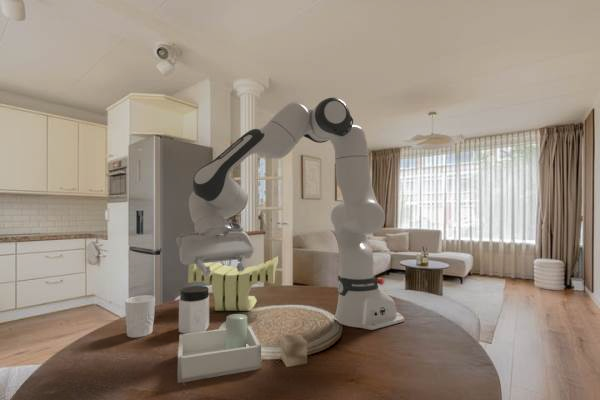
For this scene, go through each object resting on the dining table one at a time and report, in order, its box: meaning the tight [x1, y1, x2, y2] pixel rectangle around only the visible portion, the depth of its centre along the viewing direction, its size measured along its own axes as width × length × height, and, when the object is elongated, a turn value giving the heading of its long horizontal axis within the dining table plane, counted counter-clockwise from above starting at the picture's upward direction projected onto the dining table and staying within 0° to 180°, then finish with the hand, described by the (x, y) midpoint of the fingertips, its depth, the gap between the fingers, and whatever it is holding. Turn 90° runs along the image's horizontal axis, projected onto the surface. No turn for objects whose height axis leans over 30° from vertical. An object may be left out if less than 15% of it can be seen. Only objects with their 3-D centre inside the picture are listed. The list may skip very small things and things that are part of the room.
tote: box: [177, 325, 262, 384], centre depth 74 cm, size 18×14×5 cm
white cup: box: [124, 294, 156, 339], centre depth 91 cm, size 8×8×10 cm
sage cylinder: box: [225, 313, 248, 350], centre depth 76 cm, size 5×5×9 cm
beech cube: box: [280, 333, 308, 368], centre depth 75 cm, size 5×5×5 cm
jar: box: [178, 285, 210, 334], centre depth 95 cm, size 9×8×12 cm
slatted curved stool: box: [187, 255, 279, 312], centre depth 117 cm, size 30×16×18 cm, turn 88°
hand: (225, 272), depth 82 cm, fingers open, 8 cm apart
